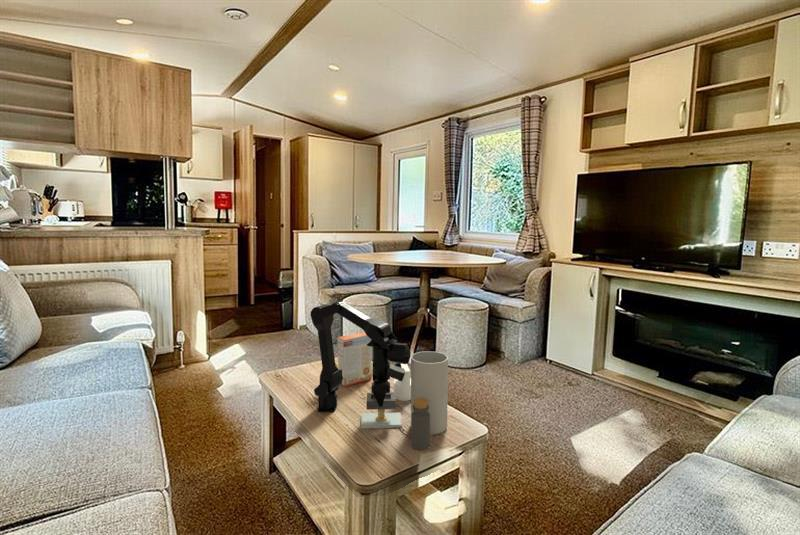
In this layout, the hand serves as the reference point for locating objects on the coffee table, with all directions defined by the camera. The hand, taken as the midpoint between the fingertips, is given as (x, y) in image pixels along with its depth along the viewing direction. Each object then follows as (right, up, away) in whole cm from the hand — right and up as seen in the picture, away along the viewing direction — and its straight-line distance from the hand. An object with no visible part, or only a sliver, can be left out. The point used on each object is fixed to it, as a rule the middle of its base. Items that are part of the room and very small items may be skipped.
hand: (380, 402), depth 151 cm
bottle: (+13, -9, -15) cm, 22 cm away
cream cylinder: (+9, -5, +23) cm, 25 cm away
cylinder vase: (+17, -8, -3) cm, 19 cm away
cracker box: (-13, -3, +38) cm, 40 cm away
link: (0, -1, 0) cm, 1 cm away
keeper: (0, -7, +1) cm, 7 cm away
